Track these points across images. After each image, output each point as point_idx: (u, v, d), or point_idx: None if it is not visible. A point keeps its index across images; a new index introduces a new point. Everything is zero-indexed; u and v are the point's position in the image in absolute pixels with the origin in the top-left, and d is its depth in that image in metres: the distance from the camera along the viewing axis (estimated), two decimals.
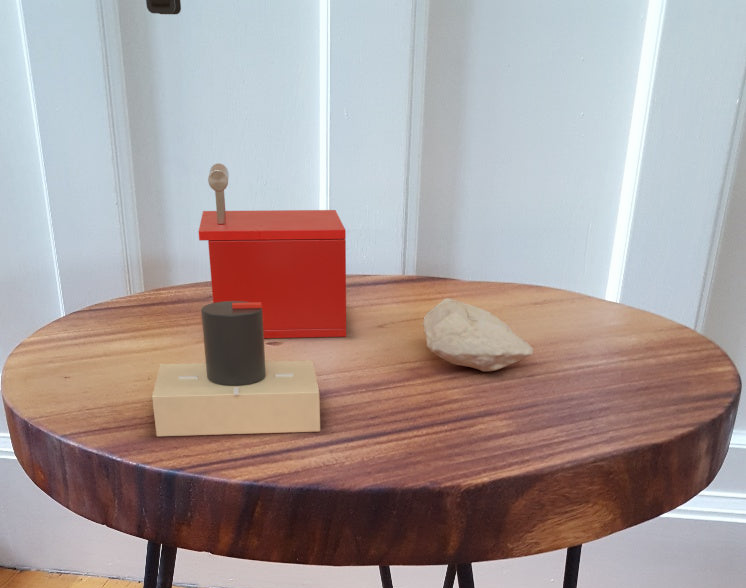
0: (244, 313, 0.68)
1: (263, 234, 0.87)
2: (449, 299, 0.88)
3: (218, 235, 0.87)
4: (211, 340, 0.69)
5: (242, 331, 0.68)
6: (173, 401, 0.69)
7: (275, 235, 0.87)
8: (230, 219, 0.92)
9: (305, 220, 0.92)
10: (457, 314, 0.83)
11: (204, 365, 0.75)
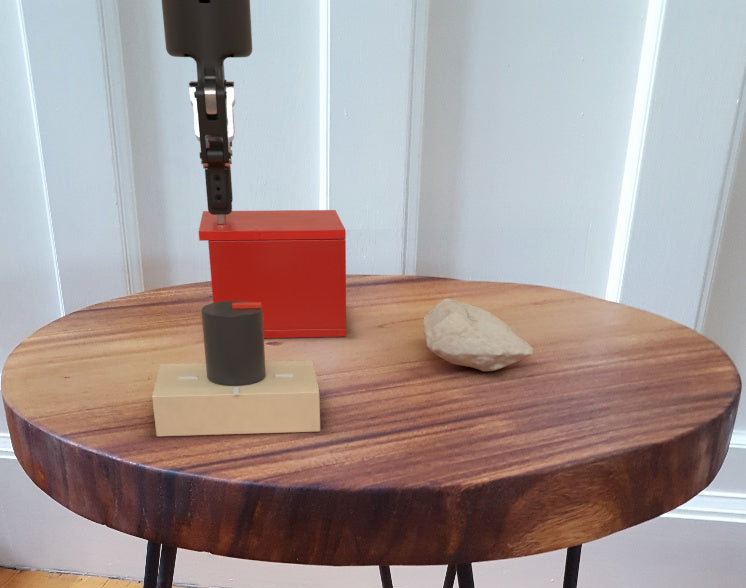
0: (244, 313, 0.68)
1: (263, 234, 0.87)
2: (449, 299, 0.88)
3: (218, 235, 0.87)
4: (211, 340, 0.69)
5: (242, 331, 0.68)
6: (173, 401, 0.69)
7: (275, 235, 0.87)
8: (230, 219, 0.92)
9: (305, 220, 0.92)
10: (457, 314, 0.83)
11: (204, 365, 0.75)
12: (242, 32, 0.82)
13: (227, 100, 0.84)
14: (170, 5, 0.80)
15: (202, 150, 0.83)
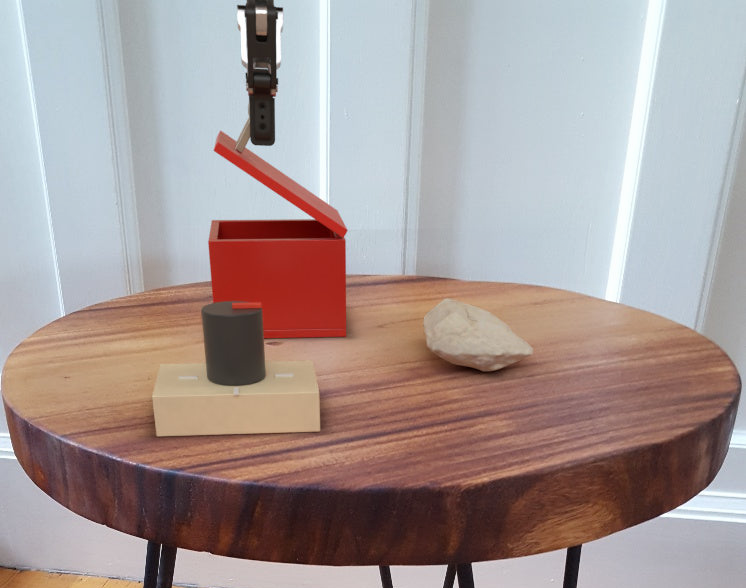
0: (244, 313, 0.68)
1: (274, 185, 0.85)
2: (449, 299, 0.88)
3: (233, 158, 0.84)
4: (211, 340, 0.69)
5: (242, 331, 0.68)
6: (173, 401, 0.69)
7: (284, 193, 0.86)
8: (246, 153, 0.89)
9: (312, 200, 0.91)
10: (456, 314, 0.83)
11: (204, 365, 0.75)
12: None
13: (276, 25, 0.82)
14: None
15: (249, 74, 0.80)
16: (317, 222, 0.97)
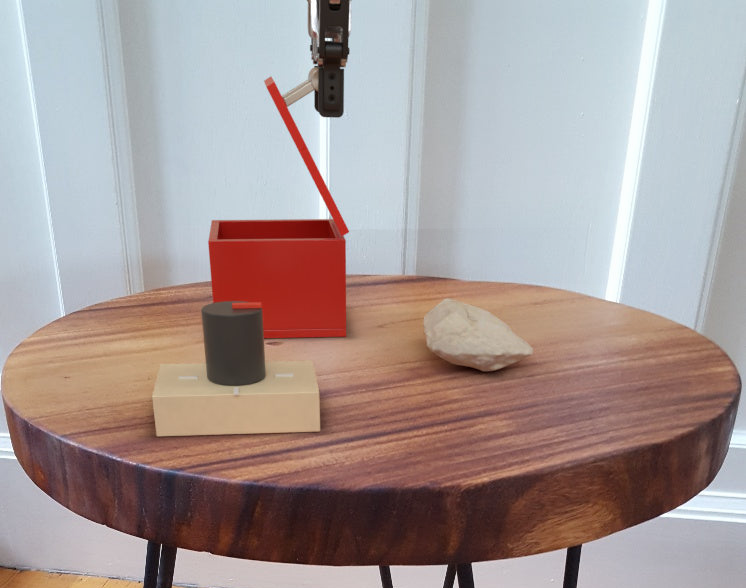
0: (244, 313, 0.68)
1: (305, 152, 0.84)
2: (449, 299, 0.88)
3: (281, 105, 0.82)
4: (211, 340, 0.69)
5: (242, 331, 0.68)
6: (173, 401, 0.69)
7: (310, 165, 0.85)
8: None
9: None
10: (457, 314, 0.83)
11: (204, 365, 0.75)
12: None
13: None
14: None
15: (321, 43, 0.80)
16: (317, 222, 0.97)
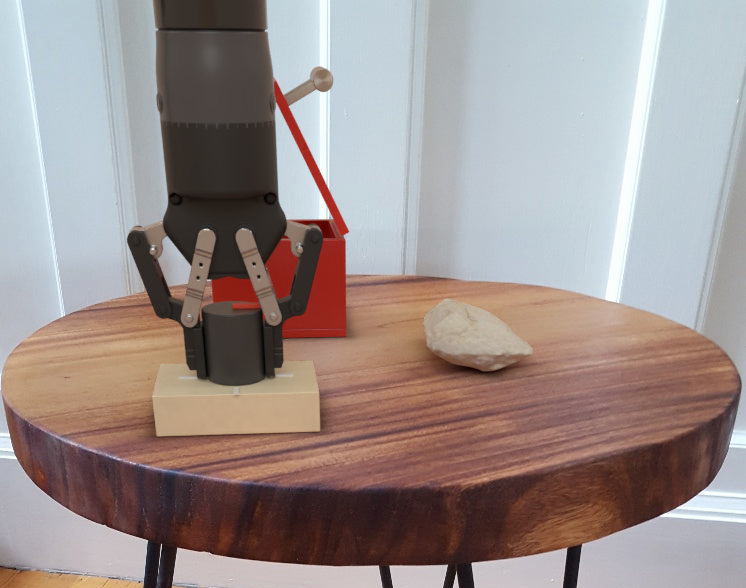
0: (244, 313, 0.68)
1: (306, 152, 0.84)
2: (449, 299, 0.88)
3: (282, 104, 0.82)
4: (211, 340, 0.69)
5: (242, 331, 0.68)
6: (173, 401, 0.69)
7: (311, 164, 0.85)
8: None
9: None
10: (456, 314, 0.83)
11: None
12: (184, 168, 0.61)
13: (195, 248, 0.66)
14: None
15: None
16: (317, 222, 0.97)
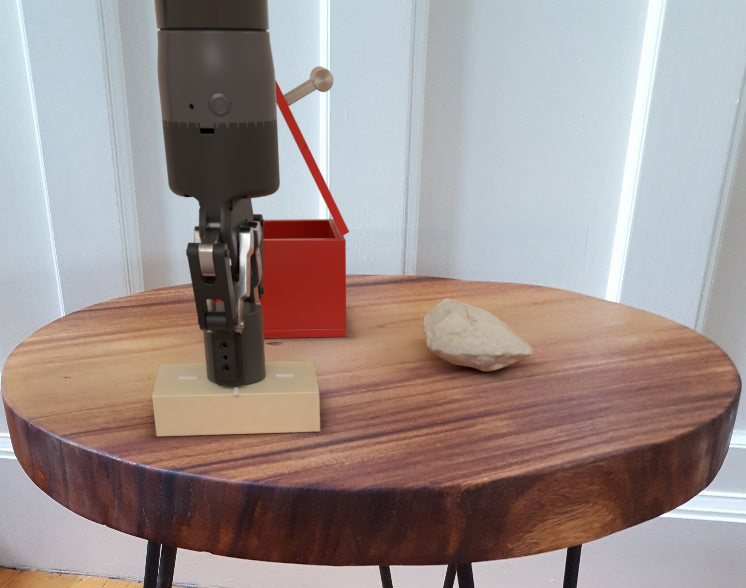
0: (256, 305, 0.70)
1: (306, 152, 0.84)
2: (449, 299, 0.88)
3: (282, 104, 0.82)
4: (251, 340, 0.69)
5: (262, 322, 0.70)
6: (173, 401, 0.69)
7: (311, 164, 0.85)
8: None
9: None
10: (456, 314, 0.83)
11: (204, 365, 0.75)
12: (260, 167, 0.62)
13: (241, 250, 0.65)
14: (168, 134, 0.61)
15: (199, 317, 0.64)
16: (317, 222, 0.97)
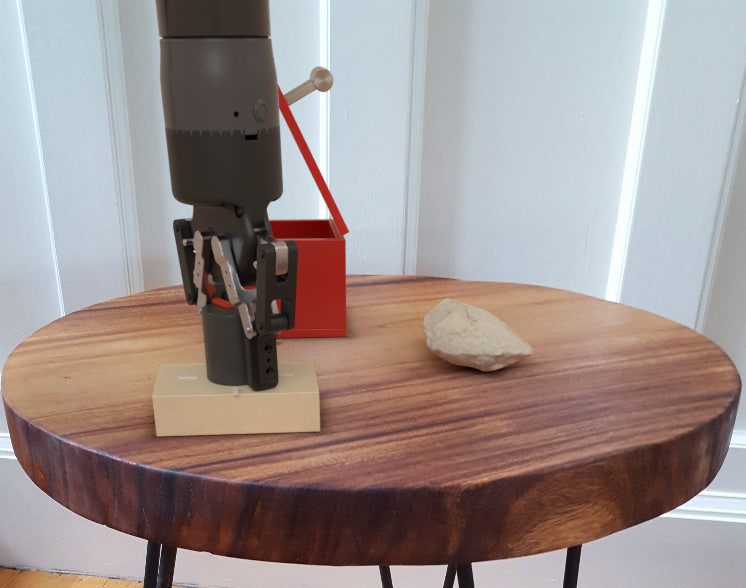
0: None
1: (306, 152, 0.84)
2: (449, 299, 0.88)
3: (282, 104, 0.82)
4: None
5: None
6: (173, 401, 0.69)
7: (311, 164, 0.85)
8: None
9: None
10: (456, 314, 0.83)
11: (204, 365, 0.75)
12: (281, 170, 0.64)
13: None
14: (200, 144, 0.60)
15: (266, 320, 0.64)
16: (317, 222, 0.97)
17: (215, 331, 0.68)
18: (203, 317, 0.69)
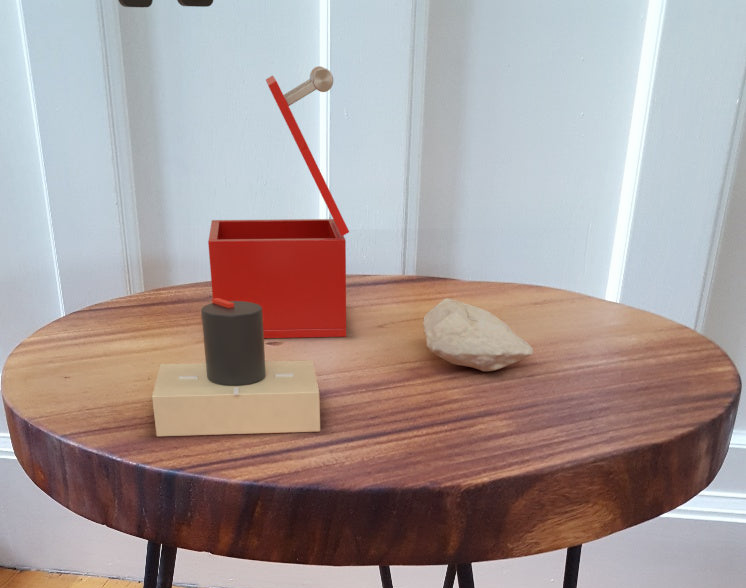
0: (243, 302, 0.71)
1: (306, 152, 0.84)
2: (449, 299, 0.88)
3: (282, 104, 0.82)
4: (263, 335, 0.70)
5: None
6: (173, 401, 0.69)
7: (311, 164, 0.85)
8: None
9: None
10: (456, 314, 0.83)
11: (204, 365, 0.75)
12: None
13: None
14: None
15: None
16: (317, 222, 0.97)
17: (215, 331, 0.68)
18: (203, 317, 0.69)
